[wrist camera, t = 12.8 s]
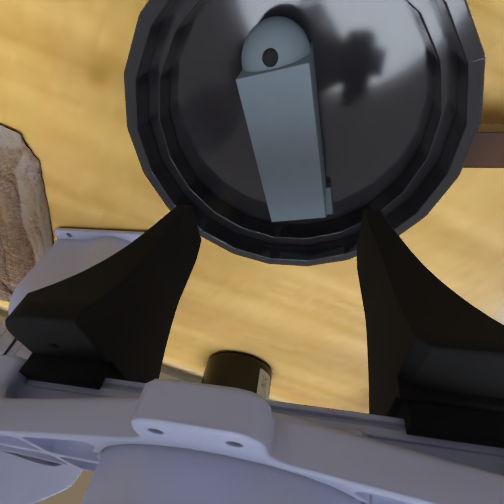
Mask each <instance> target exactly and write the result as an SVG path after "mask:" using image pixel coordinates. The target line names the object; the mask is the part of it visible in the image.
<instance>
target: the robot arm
mask: <svg viewBox="0 0 504 504" xmlns="http://www.w3.org/2000/svg"><path fill="white" fill-rule="evenodd" d="M54 233H55V235H56V236H57V238H58V240H57V241H56V242H55V244H54V245H53V246H52V247H51V248H50V249H49V250H48V251H47V252H46V254H45V255H44V256H43V257H42V258H41V259H40V260H39V261H38V263H37V264H36V265H35V266H34V267H33V268H32V269H31V270H30V272H29V273H28V274H27V275H26V276H25V277H24V278H23V279H22V281H21V282H20V283H19V284H18V285H17V287H16V288H15V290H14V292H13V294H12V297H11V300H10V304H9V310H8V314H9V316H8V317H7V319H6V320H4V321H3V322H2V323H1V324H0V504H35V503H37V502H39V501H42V500H43V499H46V498H48V497H51V496H53V495H55V494H57V493H59V492H62V491H63V490H66V489H67V488H69V487H70V486H72V485H73V484H74V482H75V480H76V479H77V477H78V476H80V474H81V473H82V471H83V470H87V471H91V472H94V475H93V477H92V479H91V481H90V484H89V486H88V488H87V490H86V493H85V495H84V497H83V500H82V502H81V504H504V325H502V324H501V323H499V322H497V321H496V320H494V319H492V318H491V317H489V316H487V315H486V314H484V313H483V312H481V311H480V310H478V309H477V308H475V307H474V306H472V305H471V304H470V303H468V302H467V301H465V300H464V299H463V298H461V297H460V296H459V295H457V294H456V293H455V292H454V291H452V290H451V289H450V288H448V287H447V286H446V285H445V284H444V283H442V282H441V281H440V280H439V279H438V278H437V277H436V276H434V275H433V274H432V273H431V272H430V271H429V270H428V269H427V268H426V267H425V266H424V265H423V264H422V263H421V262H420V261H419V260H418V259H417V257H416V256H415V255H414V254H413V253H412V252H411V251H410V249H409V248H408V247H407V246H406V245H405V243H404V242H403V241H402V240H401V238H400V237H399V236H398V234H397V233H396V232H395V230H394V229H393V227H392V226H391V225H390V223H389V222H388V220H387V219H386V217H385V216H384V214H383V213H382V212H381V211H380V210H364V213H363V218H362V223H361V228H360V233H359V238H358V243H357V270H358V276H359V282H360V288H361V294H362V300H363V306H364V311H365V318H366V329H367V347H368V371H369V414H366V413H358V412H351V411H344V410H336V409H329V408H322V407H315V406H307V405H300V404H293V403H285V402H278V401H271V400H265V399H264V397H262V396H260V395H258V394H256V393H254V392H252V391H247V390H243V389H239V388H234V387H226V386H219V385H211V384H203V383H196V382H188V381H181V380H172V379H159V375H160V370H161V365H162V361H163V357H164V352H165V348H166V344H167V340H168V336H169V333H170V329H171V325H172V322H173V318H174V315H175V311H176V308H177V305H178V303H179V300H180V297H181V295H182V293H183V290H184V288H185V286H186V283H187V281H188V279H189V276H190V274H191V271H192V269H193V267H194V264H195V262H196V259H197V255H198V252H199V248H200V244H201V237H200V233H199V229H198V226H197V222H196V218H195V214H194V211H193V207H192V205H178V206H177V207H175V208H174V209H173V210H172V211H170V212H169V213H168V214H167V215H166V216H164V217H163V218H162V219H161V220H160V221H158V222H157V223H156V224H155V225H153V226H152V227H151V228H150V229H149V230H147V231H146V232H135V231H114V230H93V229H72V228H57V229H56V230H55V231H54Z"/></svg>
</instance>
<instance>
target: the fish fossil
mask: <svg viewBox="0 0 504 504" xmlns="http://www.w3.org/2000/svg"><path fill="white" fill-rule="evenodd" d="M39 165H40V163H39V161H38V159H37V158H36V157H35V156H34V155H33V154H32V152H31V150H30V149H29V148H28V147H26V145H25V142H24V140H23V138H22V136H21V135H20V134H18V133H17V132H15V131H12V130H10V129H7V128H6V127H4V126H2V125H0V300H2V301H8V302H10V300H11V297H12V294H13V292H14V290H15V288H16V287H17V285H18V284H19V283H20V282H21V281H22V279H23V278H24V277H25V276H26V275H27V274H28V273H29V272H30V270H31V269H32V268H33V267H34V266H35V265H36V264H37V263H38V261H39V260H40V259H41V258H42V257H43V256H44V255H45V254H46V252H47V251H48V250H49V249H50V248H51V247H52V246H53V243H52V241H53V236H52V233H51V227H50V225H51V224H50V219H49V210H48V206H47V201H46V198H45V192H44V183H43V181H42V178H41V175H42V173H41V169H40V167H39Z"/></svg>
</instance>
